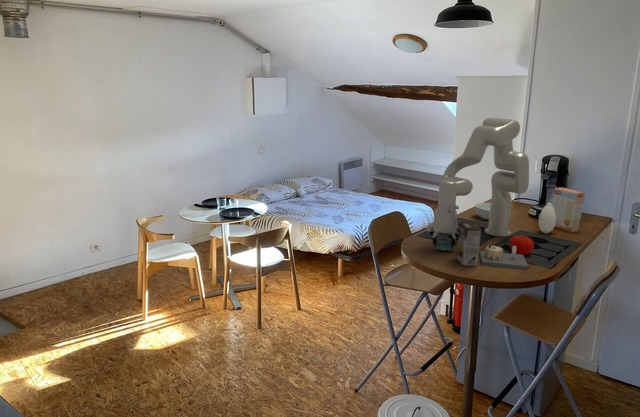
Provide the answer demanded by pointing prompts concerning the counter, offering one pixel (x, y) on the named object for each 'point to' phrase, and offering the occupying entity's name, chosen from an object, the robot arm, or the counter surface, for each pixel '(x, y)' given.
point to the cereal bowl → (483, 210)
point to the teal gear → (443, 243)
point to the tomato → (522, 244)
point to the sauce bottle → (547, 218)
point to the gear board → (502, 258)
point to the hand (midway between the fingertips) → (443, 245)
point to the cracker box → (568, 208)
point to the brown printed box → (468, 244)
